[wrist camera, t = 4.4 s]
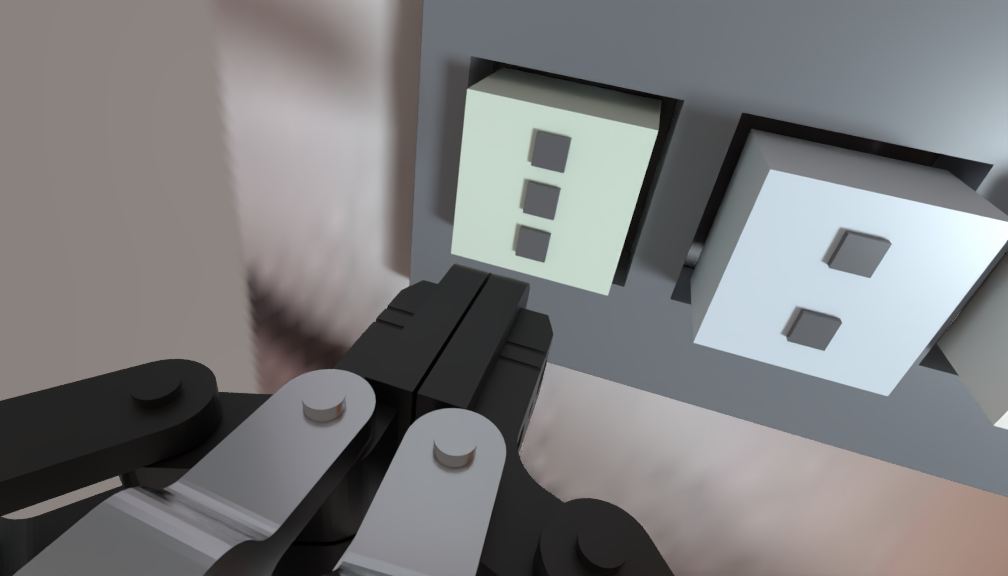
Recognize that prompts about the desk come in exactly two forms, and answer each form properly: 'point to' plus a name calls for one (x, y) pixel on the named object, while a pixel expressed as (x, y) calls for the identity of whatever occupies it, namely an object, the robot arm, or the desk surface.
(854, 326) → the white cube
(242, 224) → the desk surface
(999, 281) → the white square block
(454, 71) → the keypad board
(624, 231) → the white block
